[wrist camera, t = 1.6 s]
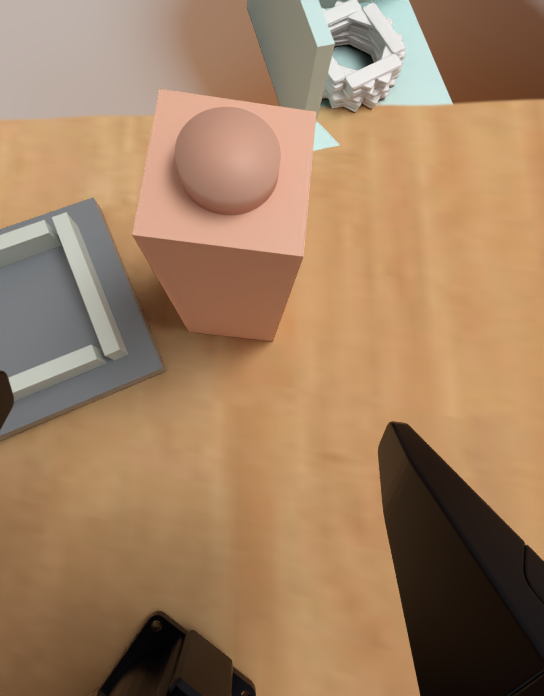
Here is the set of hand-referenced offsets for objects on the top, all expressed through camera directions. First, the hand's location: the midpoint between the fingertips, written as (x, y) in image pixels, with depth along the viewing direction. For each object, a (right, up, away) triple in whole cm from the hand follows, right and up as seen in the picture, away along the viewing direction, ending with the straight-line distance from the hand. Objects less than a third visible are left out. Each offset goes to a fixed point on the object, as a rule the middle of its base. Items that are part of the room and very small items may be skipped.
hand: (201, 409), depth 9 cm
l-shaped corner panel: (+7, +22, +19) cm, 29 cm away
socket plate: (-12, +3, +13) cm, 18 cm away
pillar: (0, +5, +14) cm, 15 cm away
